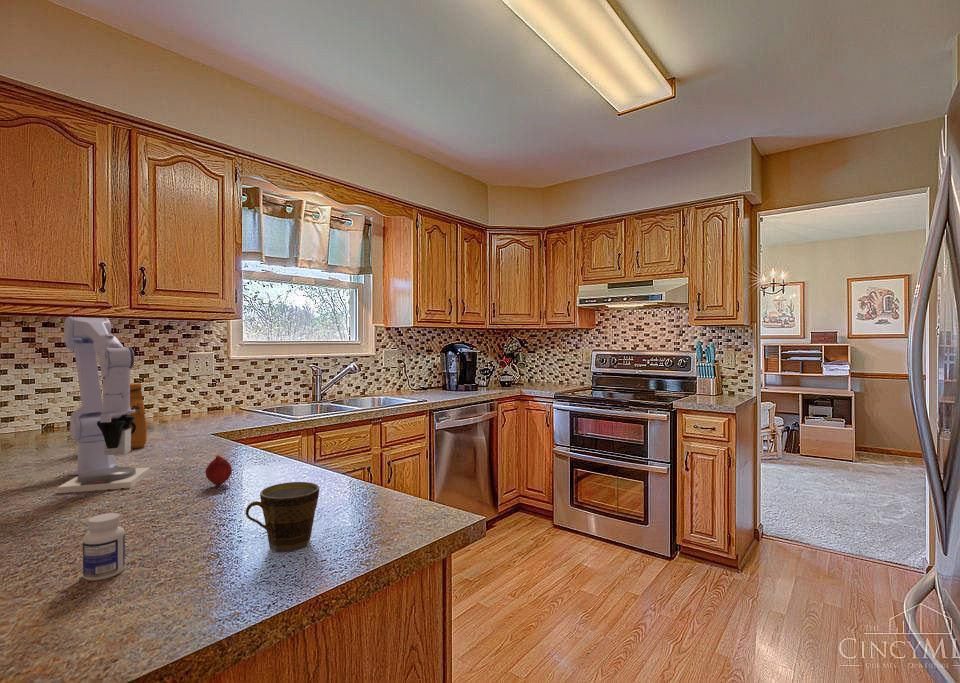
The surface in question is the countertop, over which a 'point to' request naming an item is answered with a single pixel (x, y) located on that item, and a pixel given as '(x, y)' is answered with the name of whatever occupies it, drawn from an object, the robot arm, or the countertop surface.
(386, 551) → the countertop surface
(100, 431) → the robot arm
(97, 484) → the kitchen scale
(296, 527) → the ceramic cup
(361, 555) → the countertop surface
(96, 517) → the pill bottle
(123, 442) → the block
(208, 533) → the countertop surface
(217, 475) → the onion
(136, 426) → the coffee package
